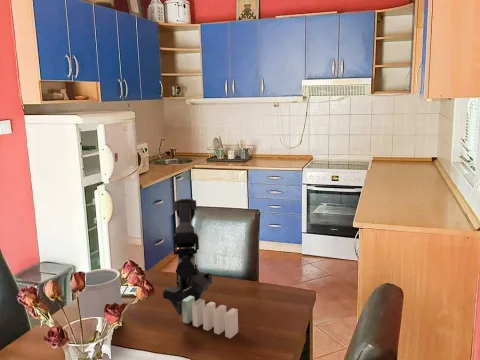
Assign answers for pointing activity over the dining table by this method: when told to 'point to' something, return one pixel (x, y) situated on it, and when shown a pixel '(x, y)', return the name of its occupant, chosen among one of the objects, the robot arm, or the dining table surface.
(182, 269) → the robot arm
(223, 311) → the cream domino
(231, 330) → the cream domino
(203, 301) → the cream domino
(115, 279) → the utensil holder
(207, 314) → the cream domino
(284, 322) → the dining table surface
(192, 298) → the sage domino
